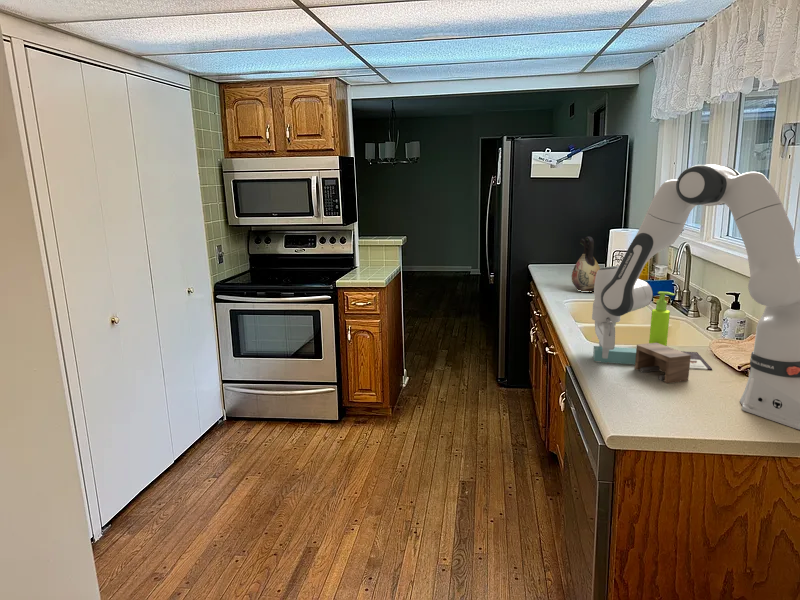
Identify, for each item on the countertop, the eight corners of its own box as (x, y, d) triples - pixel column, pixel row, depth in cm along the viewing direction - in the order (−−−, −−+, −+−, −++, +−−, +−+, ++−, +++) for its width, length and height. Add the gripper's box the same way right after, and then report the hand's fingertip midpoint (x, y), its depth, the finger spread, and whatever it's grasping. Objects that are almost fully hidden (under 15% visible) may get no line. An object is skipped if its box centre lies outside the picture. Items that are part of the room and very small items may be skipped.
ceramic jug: (566, 289, 313) (569, 234, 307) (594, 288, 314) (597, 234, 308) (577, 295, 297) (581, 237, 291) (606, 294, 298) (611, 237, 291)
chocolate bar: (697, 352, 198) (712, 368, 181) (696, 354, 198) (711, 371, 181) (669, 350, 200) (681, 366, 183) (668, 353, 200) (681, 369, 183)
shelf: (688, 380, 172) (690, 355, 170) (667, 383, 170) (669, 357, 168) (654, 366, 185) (656, 342, 183) (634, 368, 183) (636, 344, 181)
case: (636, 360, 192) (637, 348, 191) (639, 364, 187) (640, 353, 186) (592, 357, 195) (593, 345, 194) (594, 361, 190) (595, 350, 189)
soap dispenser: (667, 349, 203) (673, 294, 199) (647, 346, 207) (652, 292, 203) (671, 345, 208) (676, 291, 203) (650, 342, 211) (655, 289, 207)
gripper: (621, 322, 178) (618, 365, 181) (611, 308, 197) (608, 346, 200) (600, 321, 179) (597, 363, 182) (592, 307, 199) (590, 345, 202)
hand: (603, 354), depth 191 cm, fingers open, 5 cm apart
